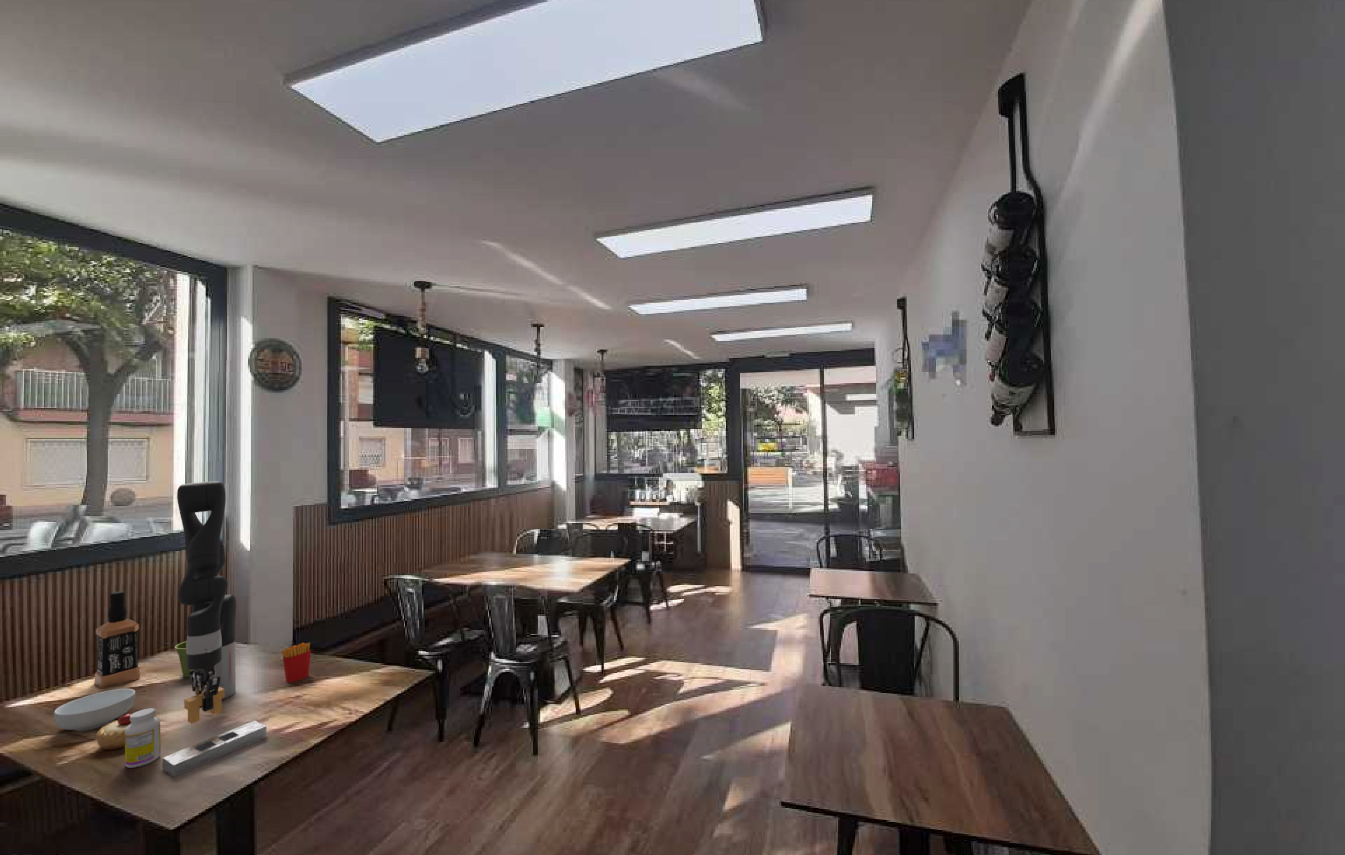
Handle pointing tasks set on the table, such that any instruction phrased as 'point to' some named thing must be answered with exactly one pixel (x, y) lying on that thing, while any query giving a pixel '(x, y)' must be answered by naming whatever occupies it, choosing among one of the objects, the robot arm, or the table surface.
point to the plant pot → (183, 658)
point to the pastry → (114, 733)
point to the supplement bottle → (142, 738)
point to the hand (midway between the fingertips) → (205, 708)
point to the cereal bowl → (94, 710)
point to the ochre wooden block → (195, 703)
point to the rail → (213, 748)
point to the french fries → (296, 662)
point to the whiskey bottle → (117, 646)
